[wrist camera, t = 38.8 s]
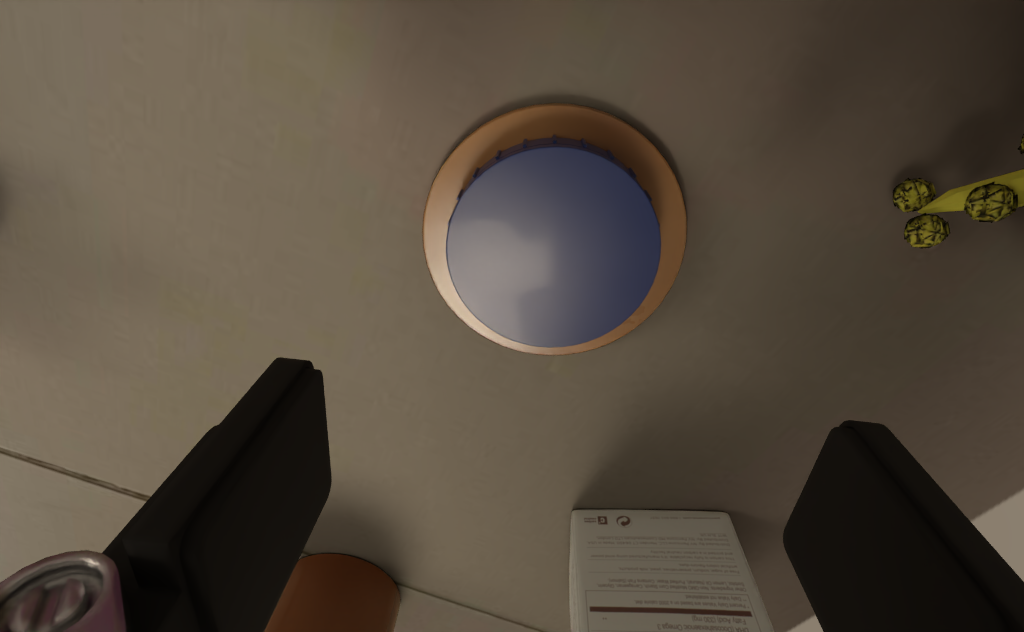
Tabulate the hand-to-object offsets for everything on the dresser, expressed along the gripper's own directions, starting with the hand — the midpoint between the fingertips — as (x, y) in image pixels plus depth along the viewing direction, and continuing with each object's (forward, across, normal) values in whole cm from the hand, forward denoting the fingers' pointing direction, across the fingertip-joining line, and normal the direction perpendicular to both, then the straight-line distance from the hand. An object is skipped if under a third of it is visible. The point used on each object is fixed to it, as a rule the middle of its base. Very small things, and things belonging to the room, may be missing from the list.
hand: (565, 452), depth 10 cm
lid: (+9, 0, -1) cm, 9 cm away
